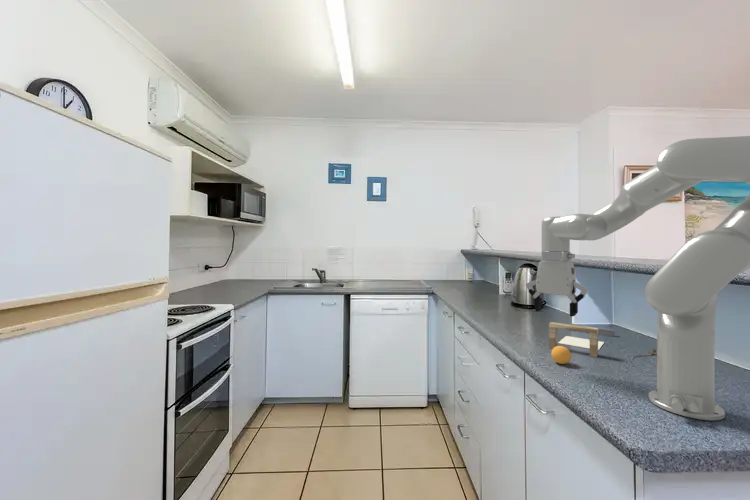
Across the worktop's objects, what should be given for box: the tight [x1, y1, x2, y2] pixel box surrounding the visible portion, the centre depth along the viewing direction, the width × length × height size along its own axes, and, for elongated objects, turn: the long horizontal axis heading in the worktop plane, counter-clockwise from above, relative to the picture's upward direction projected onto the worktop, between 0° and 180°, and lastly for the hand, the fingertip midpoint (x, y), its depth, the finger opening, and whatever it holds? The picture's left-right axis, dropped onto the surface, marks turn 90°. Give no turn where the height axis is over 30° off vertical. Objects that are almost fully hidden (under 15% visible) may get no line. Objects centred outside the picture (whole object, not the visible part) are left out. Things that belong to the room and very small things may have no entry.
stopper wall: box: [569, 323, 615, 338], centre depth 138 cm, size 2×16×2 cm, turn 47°
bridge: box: [548, 321, 599, 358], centre depth 113 cm, size 3×14×9 cm, turn 47°
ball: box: [551, 345, 572, 365], centre depth 101 cm, size 6×6×6 cm
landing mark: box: [557, 335, 605, 351], centre depth 123 cm, size 13×13×1 cm
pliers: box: [630, 348, 657, 361], centre depth 108 cm, size 10×1×20 cm
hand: (555, 313), depth 97 cm, fingers open, 9 cm apart
